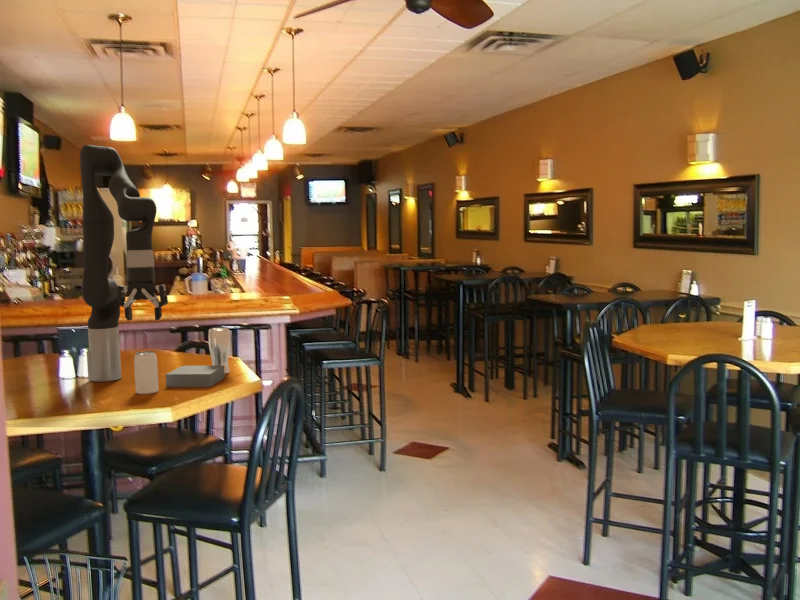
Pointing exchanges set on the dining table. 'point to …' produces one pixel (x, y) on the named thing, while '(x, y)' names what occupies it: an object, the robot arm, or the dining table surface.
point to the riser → (195, 376)
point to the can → (146, 372)
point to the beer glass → (219, 347)
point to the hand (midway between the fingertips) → (143, 320)
